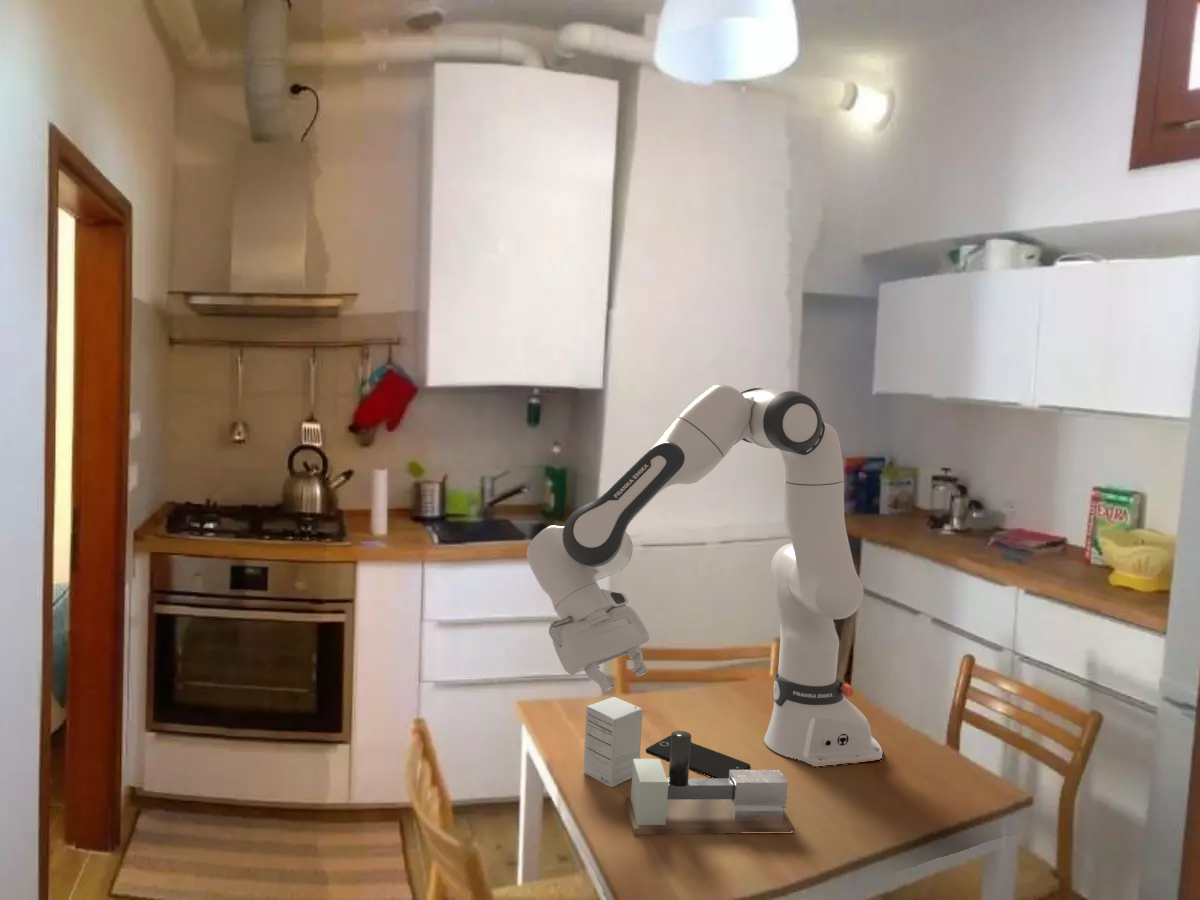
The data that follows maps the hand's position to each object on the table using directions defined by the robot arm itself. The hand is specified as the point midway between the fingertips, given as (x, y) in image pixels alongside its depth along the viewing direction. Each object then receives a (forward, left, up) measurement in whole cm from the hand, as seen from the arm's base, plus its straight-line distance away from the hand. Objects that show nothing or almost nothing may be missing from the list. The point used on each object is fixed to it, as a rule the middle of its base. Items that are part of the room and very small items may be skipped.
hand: (626, 681), depth 155 cm
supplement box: (+1, -7, -20) cm, 22 cm away
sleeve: (-22, +8, -19) cm, 30 cm away
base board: (-14, +8, -20) cm, 26 cm away
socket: (-4, +8, -19) cm, 21 cm away
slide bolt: (-11, +8, -16) cm, 21 cm away
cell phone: (-16, -13, -21) cm, 29 cm away
